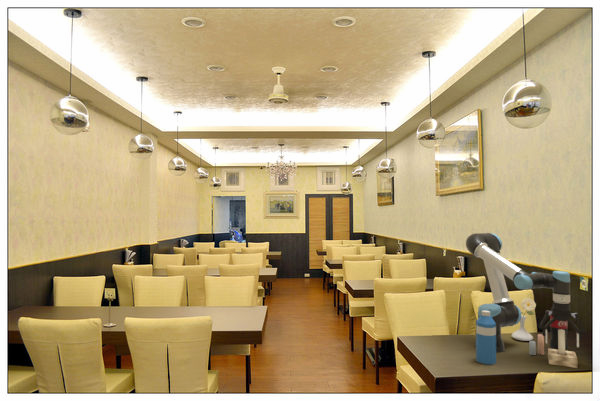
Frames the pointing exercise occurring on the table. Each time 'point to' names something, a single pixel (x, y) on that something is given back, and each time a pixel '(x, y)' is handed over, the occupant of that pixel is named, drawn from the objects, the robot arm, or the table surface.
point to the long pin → (561, 341)
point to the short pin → (532, 347)
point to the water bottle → (486, 339)
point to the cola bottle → (554, 332)
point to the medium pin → (540, 344)
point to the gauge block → (562, 358)
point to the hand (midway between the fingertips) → (561, 344)
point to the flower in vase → (522, 333)
